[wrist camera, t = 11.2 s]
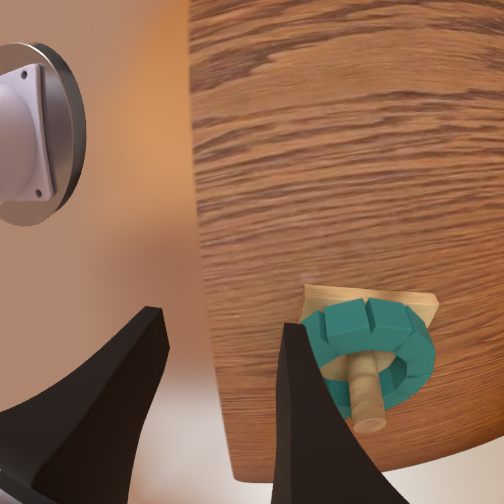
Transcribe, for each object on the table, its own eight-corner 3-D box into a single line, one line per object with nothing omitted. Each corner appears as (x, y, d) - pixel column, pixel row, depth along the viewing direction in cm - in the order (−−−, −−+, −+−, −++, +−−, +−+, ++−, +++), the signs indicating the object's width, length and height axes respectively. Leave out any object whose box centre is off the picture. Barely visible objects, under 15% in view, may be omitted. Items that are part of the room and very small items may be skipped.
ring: (267, 386, 23) (265, 411, 21) (303, 285, 17) (304, 314, 15) (385, 397, 23) (389, 420, 21) (450, 309, 17) (463, 335, 15)
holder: (287, 371, 24) (282, 453, 18) (304, 283, 19) (307, 383, 13) (391, 374, 23) (405, 449, 17) (434, 292, 18) (471, 378, 12)
